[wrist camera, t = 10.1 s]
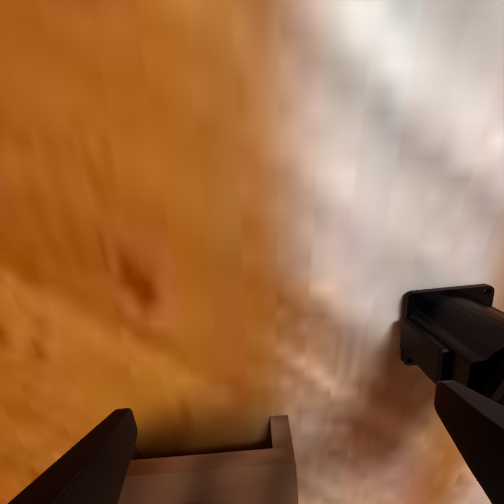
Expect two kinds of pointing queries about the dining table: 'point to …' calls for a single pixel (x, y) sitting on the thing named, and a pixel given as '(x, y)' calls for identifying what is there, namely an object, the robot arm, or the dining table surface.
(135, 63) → the dining table surface
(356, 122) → the dining table surface
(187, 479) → the walnut shelf
